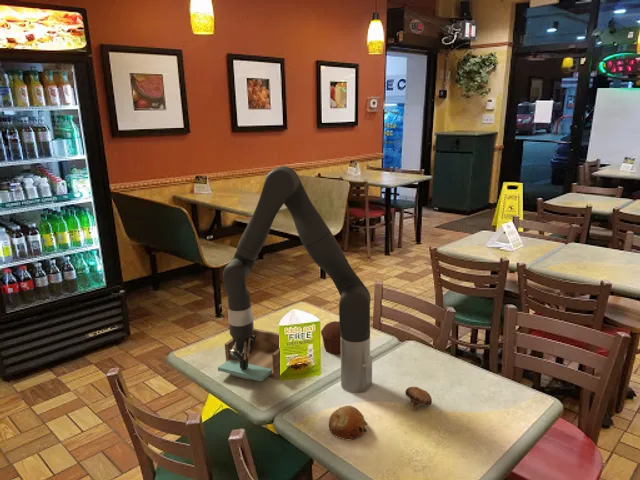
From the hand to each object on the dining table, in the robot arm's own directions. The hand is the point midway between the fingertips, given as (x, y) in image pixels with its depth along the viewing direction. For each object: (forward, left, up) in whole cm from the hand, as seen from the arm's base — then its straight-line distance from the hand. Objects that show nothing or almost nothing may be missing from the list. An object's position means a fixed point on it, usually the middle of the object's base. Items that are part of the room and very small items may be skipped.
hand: (244, 368), depth 156 cm
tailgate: (0, -4, -2) cm, 4 cm away
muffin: (-20, -31, -4) cm, 37 cm away
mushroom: (-56, -8, -4) cm, 57 cm away
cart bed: (0, -11, -4) cm, 11 cm away
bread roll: (-41, +11, -4) cm, 42 cm away
